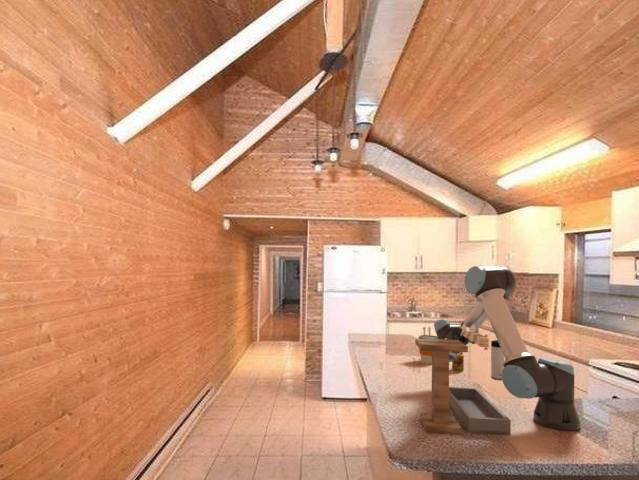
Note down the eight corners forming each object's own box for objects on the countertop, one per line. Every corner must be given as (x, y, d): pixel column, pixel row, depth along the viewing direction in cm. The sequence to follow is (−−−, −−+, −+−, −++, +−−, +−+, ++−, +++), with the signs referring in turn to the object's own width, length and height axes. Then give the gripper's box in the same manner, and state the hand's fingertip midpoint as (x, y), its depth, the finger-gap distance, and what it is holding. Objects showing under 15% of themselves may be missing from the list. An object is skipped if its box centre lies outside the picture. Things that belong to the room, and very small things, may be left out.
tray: (443, 398, 172) (444, 386, 172) (476, 400, 171) (476, 388, 171) (469, 432, 137) (469, 418, 137) (510, 434, 136) (510, 420, 137)
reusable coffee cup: (442, 361, 238) (442, 336, 239) (436, 366, 228) (436, 339, 229) (421, 358, 245) (422, 334, 246) (415, 362, 235) (415, 337, 236)
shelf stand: (414, 418, 149) (415, 338, 150) (457, 420, 148) (457, 339, 149) (420, 432, 137) (421, 344, 138) (467, 434, 136) (467, 346, 137)
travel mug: (504, 381, 200) (504, 341, 201) (490, 379, 204) (490, 340, 205) (505, 378, 205) (505, 339, 207) (492, 376, 209) (491, 338, 210)
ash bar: (459, 333, 169) (459, 326, 169) (466, 333, 169) (466, 326, 169) (480, 346, 143) (480, 338, 143) (488, 347, 143) (488, 338, 143)
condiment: (457, 372, 214) (457, 350, 215) (446, 368, 222) (446, 347, 223) (467, 371, 217) (467, 349, 218) (456, 367, 225) (456, 346, 226)
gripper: (474, 354, 178) (491, 336, 158) (438, 352, 179) (450, 335, 159) (472, 338, 182) (488, 319, 162) (436, 336, 183) (448, 317, 163)
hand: (469, 327), depth 161 cm, fingers closed on ash bar, 3 cm apart
